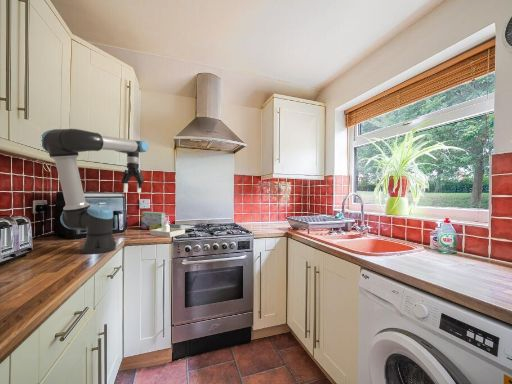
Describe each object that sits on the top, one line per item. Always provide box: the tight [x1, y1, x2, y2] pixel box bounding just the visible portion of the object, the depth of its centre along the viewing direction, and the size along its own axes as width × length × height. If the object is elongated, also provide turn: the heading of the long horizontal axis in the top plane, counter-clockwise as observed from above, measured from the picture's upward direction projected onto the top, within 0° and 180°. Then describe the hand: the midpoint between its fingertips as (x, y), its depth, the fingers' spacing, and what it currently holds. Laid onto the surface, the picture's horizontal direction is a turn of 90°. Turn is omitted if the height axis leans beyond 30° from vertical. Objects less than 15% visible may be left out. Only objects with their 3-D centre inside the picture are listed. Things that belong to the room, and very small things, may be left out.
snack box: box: [140, 211, 166, 231], centre depth 192 cm, size 21×6×15 cm, turn 73°
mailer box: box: [149, 228, 186, 238], centre depth 171 cm, size 16×20×4 cm
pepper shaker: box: [162, 220, 170, 232], centre depth 170 cm, size 4×4×10 cm
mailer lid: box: [162, 223, 196, 230], centre depth 183 cm, size 16×20×3 cm
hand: (132, 192), depth 161 cm, fingers open, 13 cm apart
